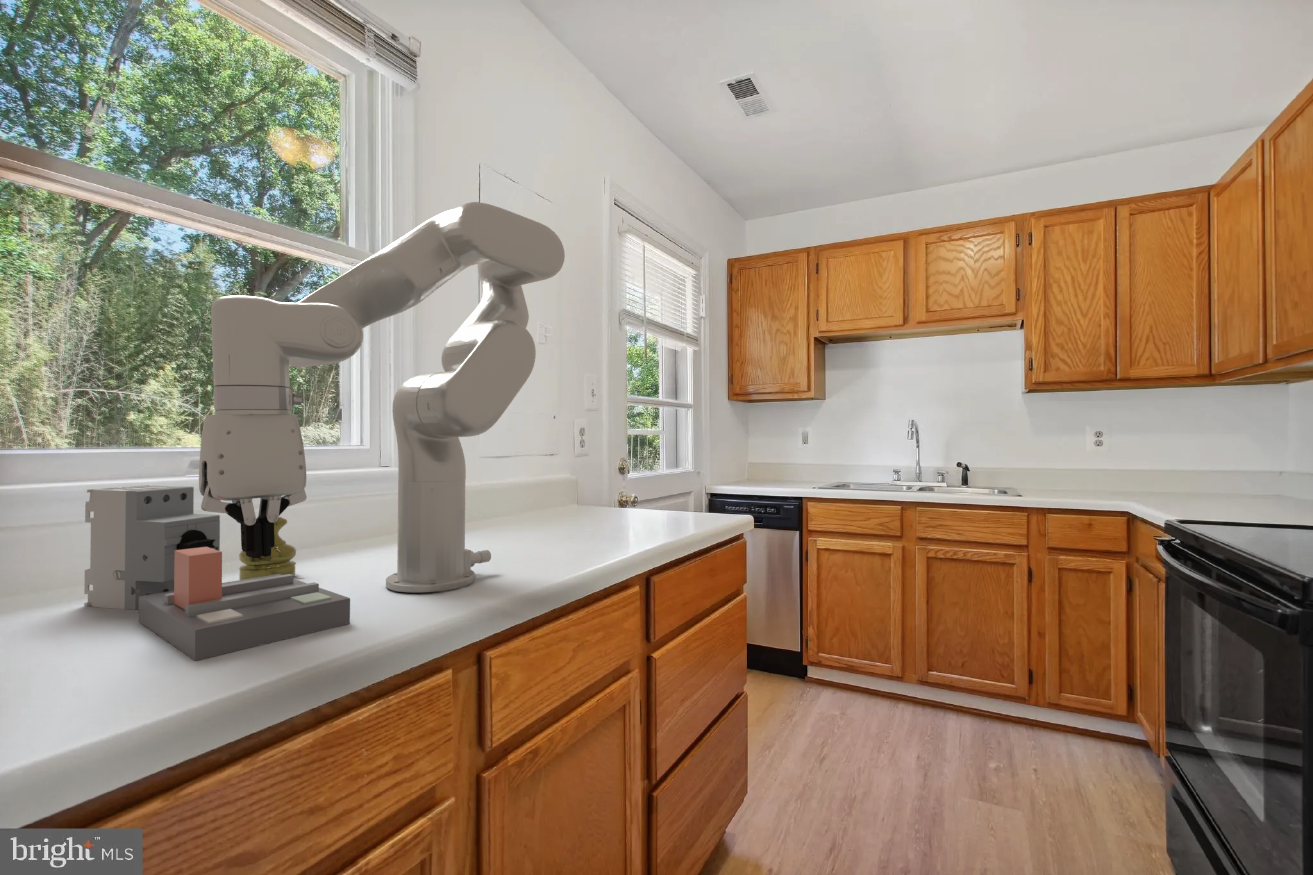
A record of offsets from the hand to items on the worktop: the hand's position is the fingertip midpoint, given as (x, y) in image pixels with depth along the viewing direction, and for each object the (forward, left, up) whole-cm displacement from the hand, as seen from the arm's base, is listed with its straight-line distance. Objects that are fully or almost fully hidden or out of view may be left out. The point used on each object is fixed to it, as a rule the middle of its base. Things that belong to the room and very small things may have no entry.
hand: (258, 555), depth 72 cm
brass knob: (-9, -22, -8) cm, 25 cm away
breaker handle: (+6, 0, -5) cm, 7 cm away
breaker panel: (+1, 0, -8) cm, 8 cm away
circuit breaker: (+5, -19, -8) cm, 21 cm away
